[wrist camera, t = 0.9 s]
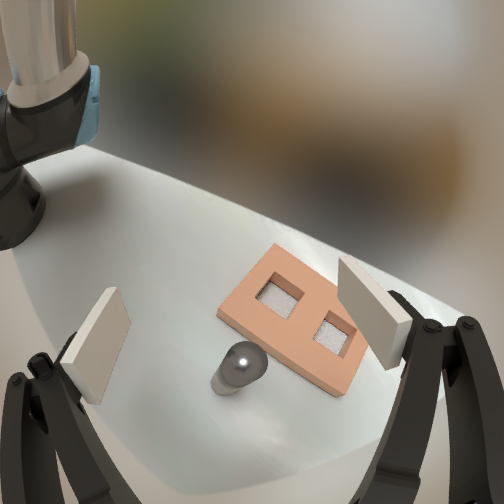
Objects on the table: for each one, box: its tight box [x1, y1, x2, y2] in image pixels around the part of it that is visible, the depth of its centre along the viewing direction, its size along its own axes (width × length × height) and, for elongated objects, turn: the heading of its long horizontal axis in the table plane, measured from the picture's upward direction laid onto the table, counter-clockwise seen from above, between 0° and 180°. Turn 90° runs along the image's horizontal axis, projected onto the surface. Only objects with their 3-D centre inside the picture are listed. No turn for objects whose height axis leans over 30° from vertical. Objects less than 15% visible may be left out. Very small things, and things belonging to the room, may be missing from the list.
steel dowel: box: [211, 341, 268, 396], centre depth 24 cm, size 3×3×14 cm
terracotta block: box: [217, 243, 368, 397], centre depth 35 cm, size 19×13×2 cm
